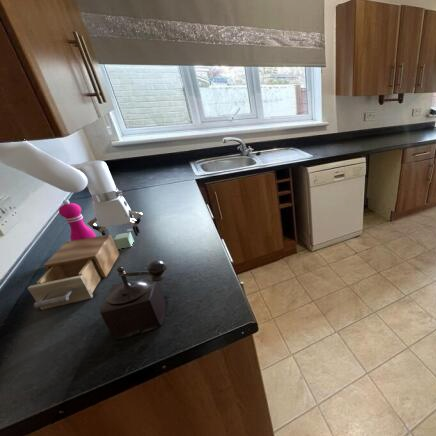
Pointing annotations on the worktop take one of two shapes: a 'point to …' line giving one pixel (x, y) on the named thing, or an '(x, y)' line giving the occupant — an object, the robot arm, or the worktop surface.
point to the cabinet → (87, 253)
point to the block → (123, 240)
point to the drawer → (66, 284)
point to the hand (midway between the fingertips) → (123, 237)
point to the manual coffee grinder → (135, 303)
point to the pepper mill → (75, 221)
